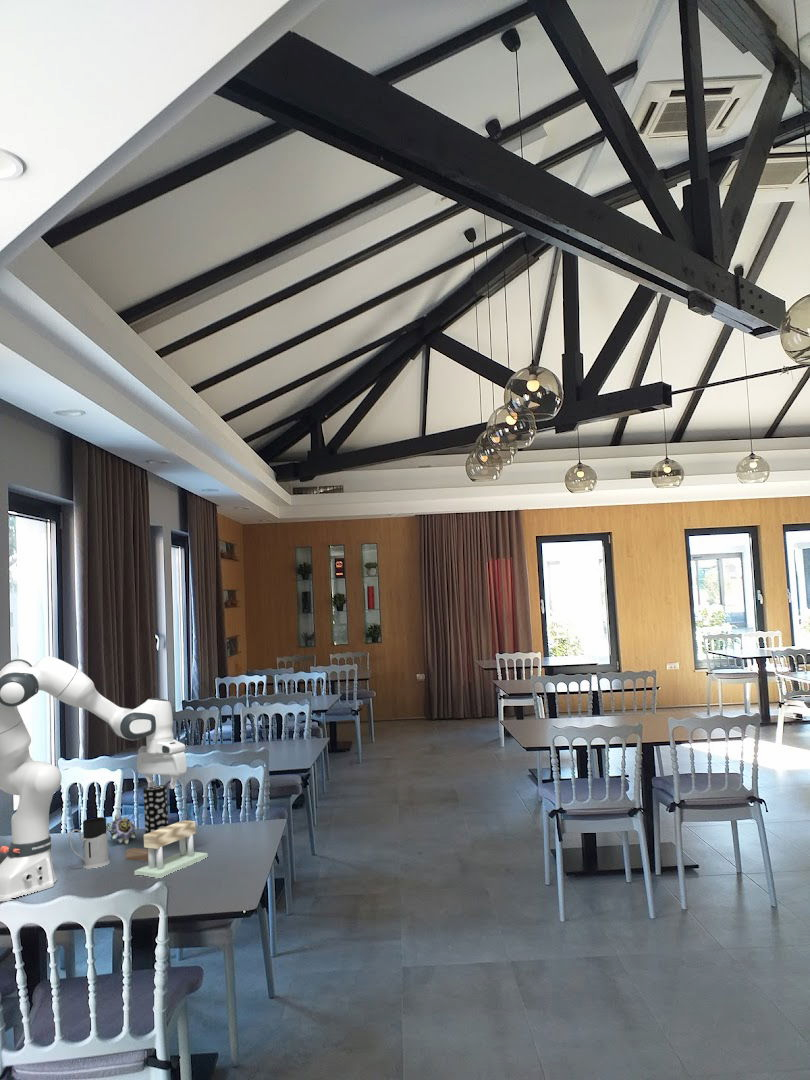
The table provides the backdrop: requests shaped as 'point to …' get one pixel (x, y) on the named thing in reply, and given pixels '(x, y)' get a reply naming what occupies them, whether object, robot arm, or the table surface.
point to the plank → (169, 834)
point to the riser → (137, 854)
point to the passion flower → (122, 829)
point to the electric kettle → (94, 843)
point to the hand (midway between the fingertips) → (161, 787)
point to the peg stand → (171, 860)
